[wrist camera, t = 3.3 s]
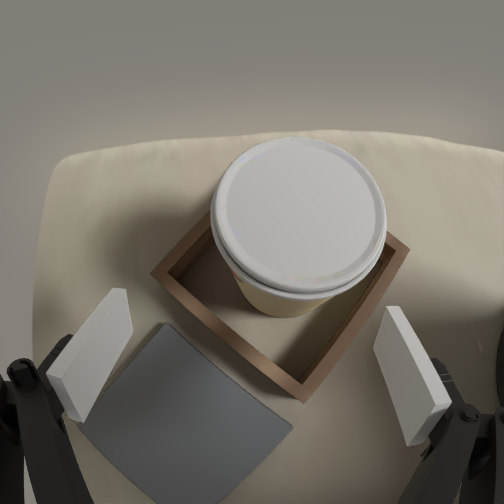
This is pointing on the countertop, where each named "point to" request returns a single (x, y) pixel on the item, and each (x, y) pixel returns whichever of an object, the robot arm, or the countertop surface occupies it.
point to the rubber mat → (181, 424)
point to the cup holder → (302, 390)
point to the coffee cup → (297, 223)
